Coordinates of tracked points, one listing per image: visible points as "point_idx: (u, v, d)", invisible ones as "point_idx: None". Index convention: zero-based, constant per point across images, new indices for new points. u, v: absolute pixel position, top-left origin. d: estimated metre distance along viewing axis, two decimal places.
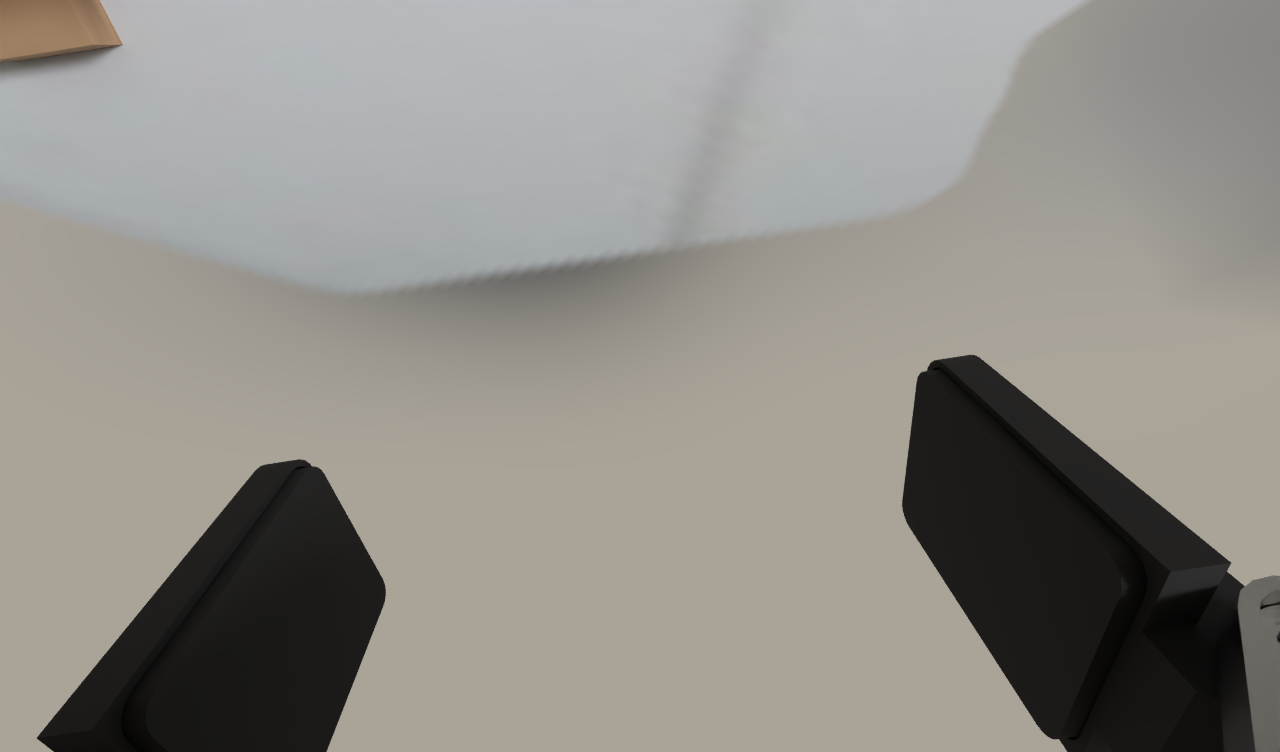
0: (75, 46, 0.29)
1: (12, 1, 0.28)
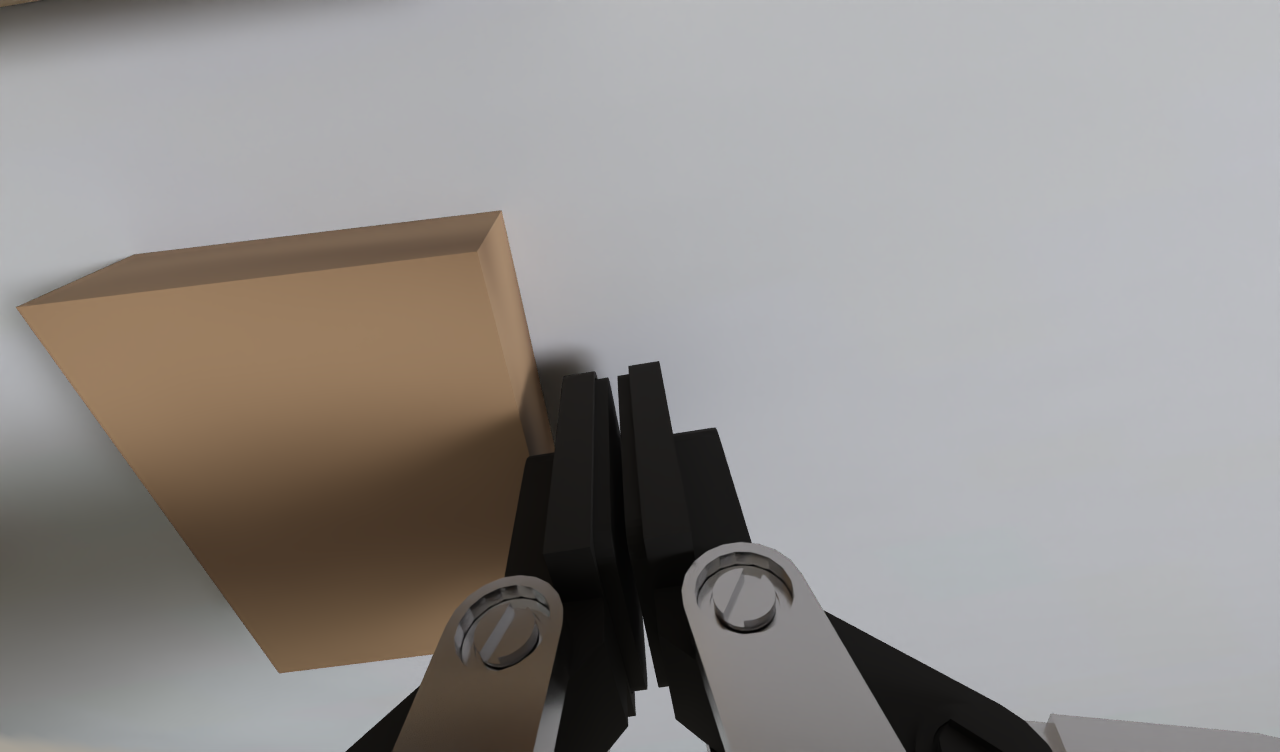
0: None
1: (406, 576, 0.10)
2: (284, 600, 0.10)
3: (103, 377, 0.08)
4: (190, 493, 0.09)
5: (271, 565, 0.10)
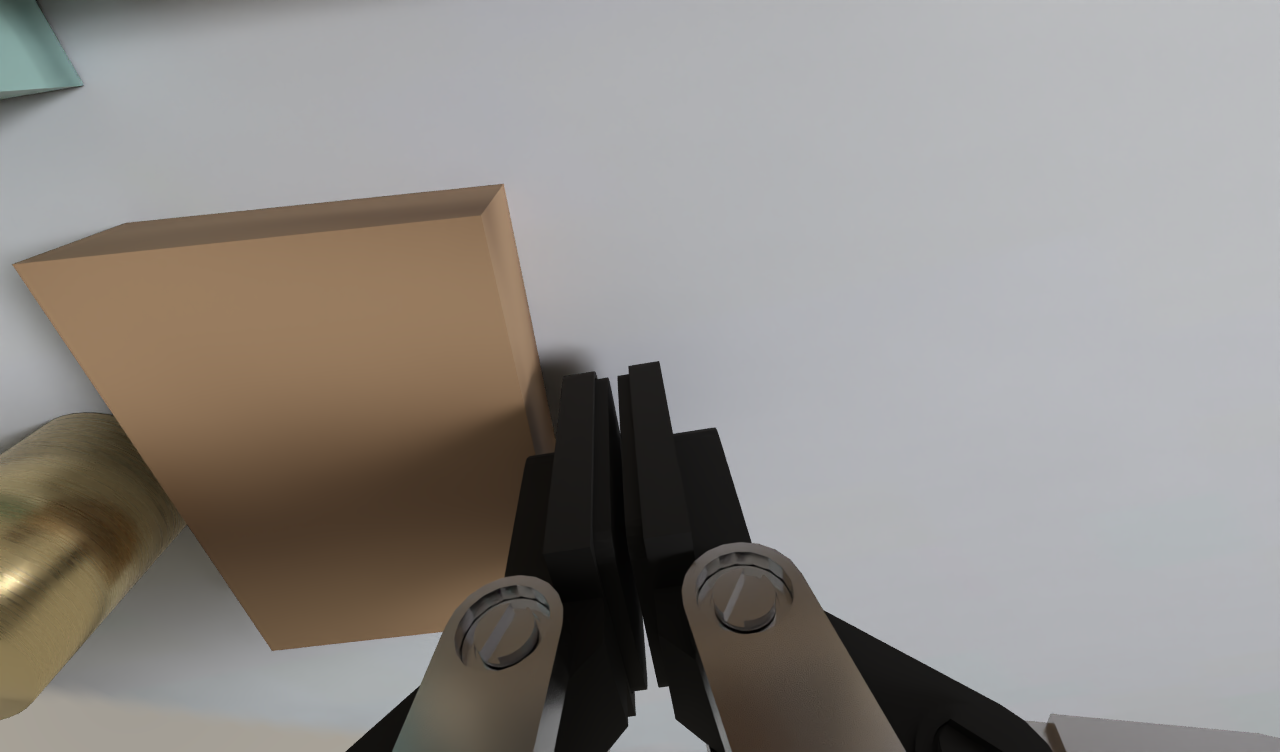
0: None
1: (403, 551, 0.10)
2: (278, 575, 0.10)
3: (99, 339, 0.08)
4: (185, 461, 0.09)
5: (266, 537, 0.10)
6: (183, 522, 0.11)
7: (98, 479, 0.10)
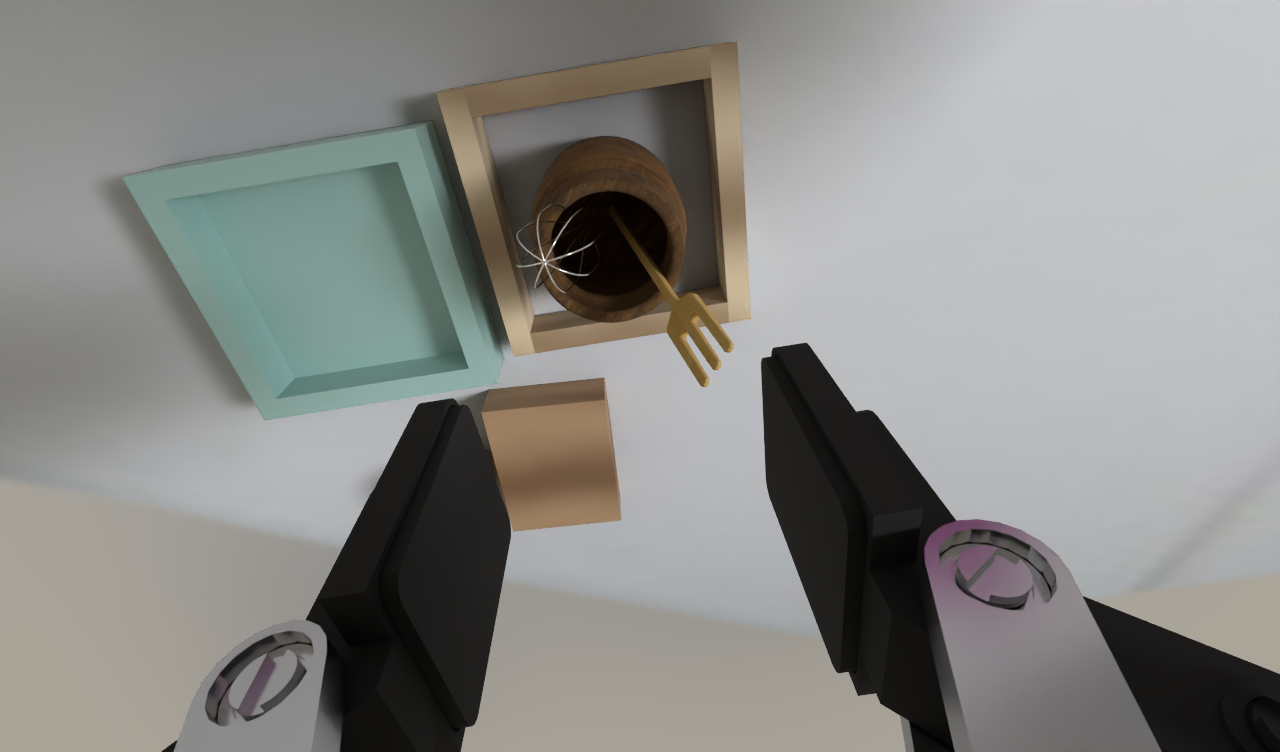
0: (604, 521, 0.31)
1: (566, 494, 0.30)
2: (524, 502, 0.30)
3: (495, 430, 0.28)
4: (507, 464, 0.29)
5: (523, 489, 0.30)
6: None
7: None
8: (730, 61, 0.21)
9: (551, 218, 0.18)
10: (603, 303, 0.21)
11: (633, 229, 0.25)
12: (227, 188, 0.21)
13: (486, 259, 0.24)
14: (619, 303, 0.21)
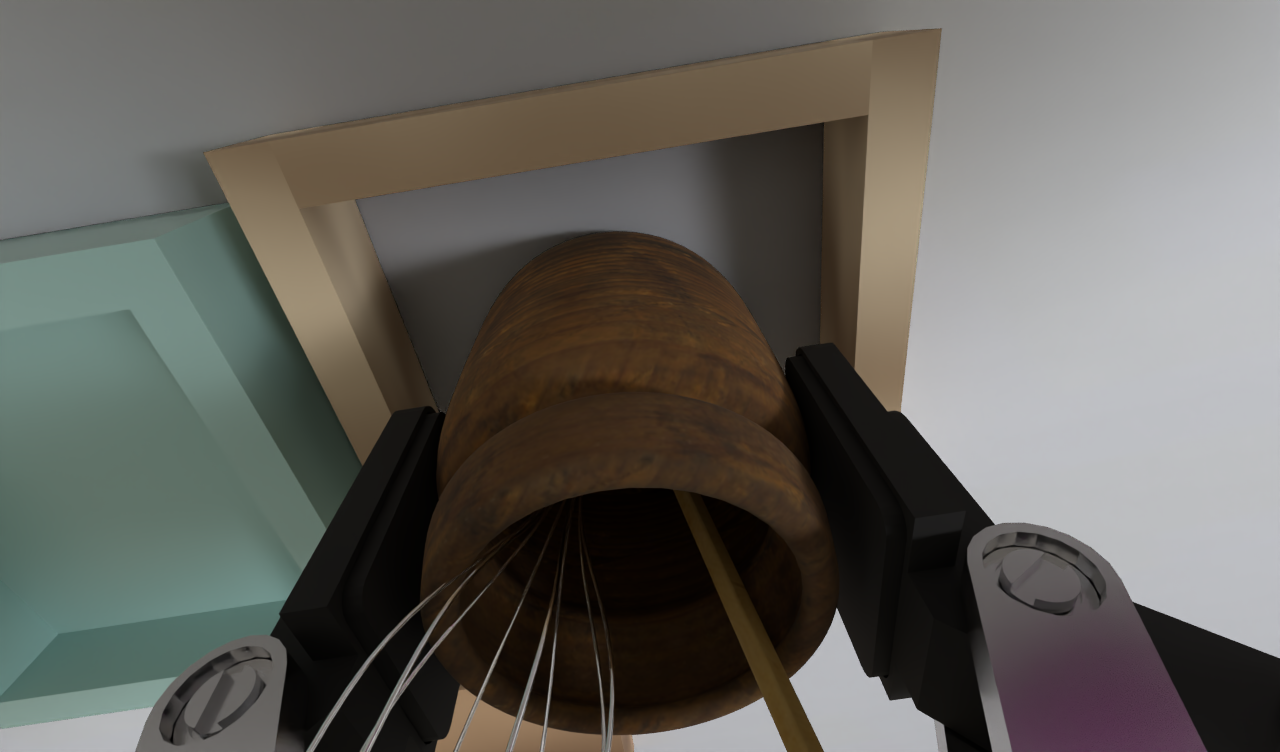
0: None
1: None
2: None
3: None
4: None
5: None
6: None
7: None
8: (919, 76, 0.08)
9: (459, 559, 0.06)
10: (612, 651, 0.09)
11: None
12: None
13: None
14: (650, 650, 0.09)
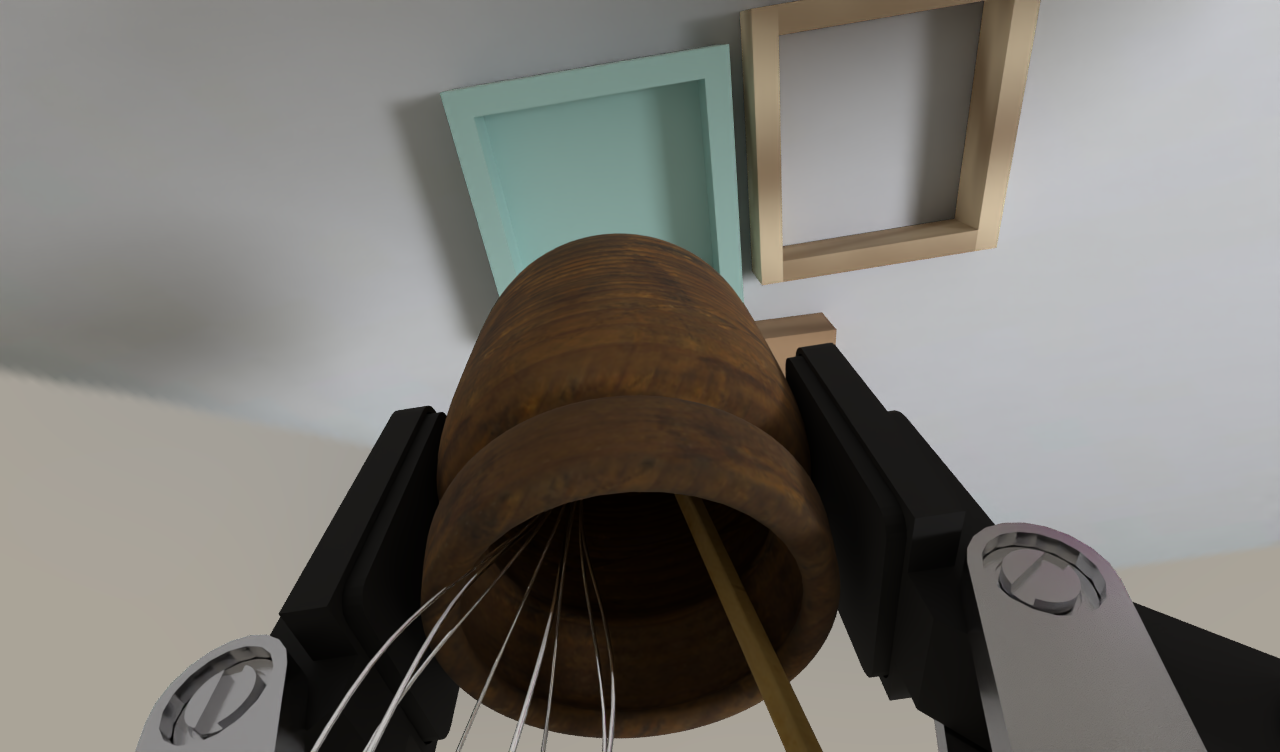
0: None
1: None
2: None
3: None
4: None
5: None
6: None
7: None
8: None
9: (460, 563, 0.06)
10: (613, 654, 0.09)
11: None
12: (537, 105, 0.22)
13: (759, 183, 0.24)
14: (651, 653, 0.09)
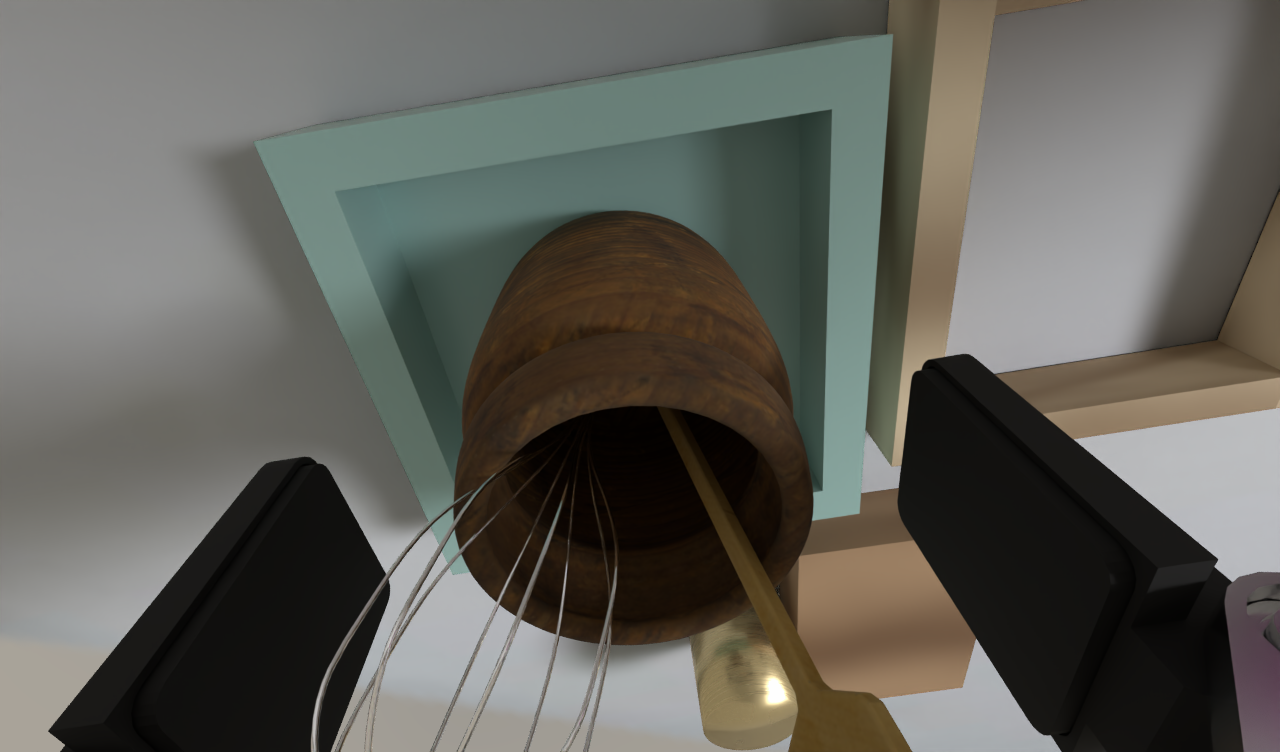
0: (936, 689, 0.20)
1: (892, 659, 0.19)
2: (825, 672, 0.19)
3: (814, 580, 0.17)
4: (816, 625, 0.18)
5: (830, 656, 0.19)
6: None
7: None
8: None
9: (487, 471, 0.07)
10: (619, 578, 0.10)
11: None
12: (470, 166, 0.10)
13: (910, 304, 0.13)
14: (653, 577, 0.10)
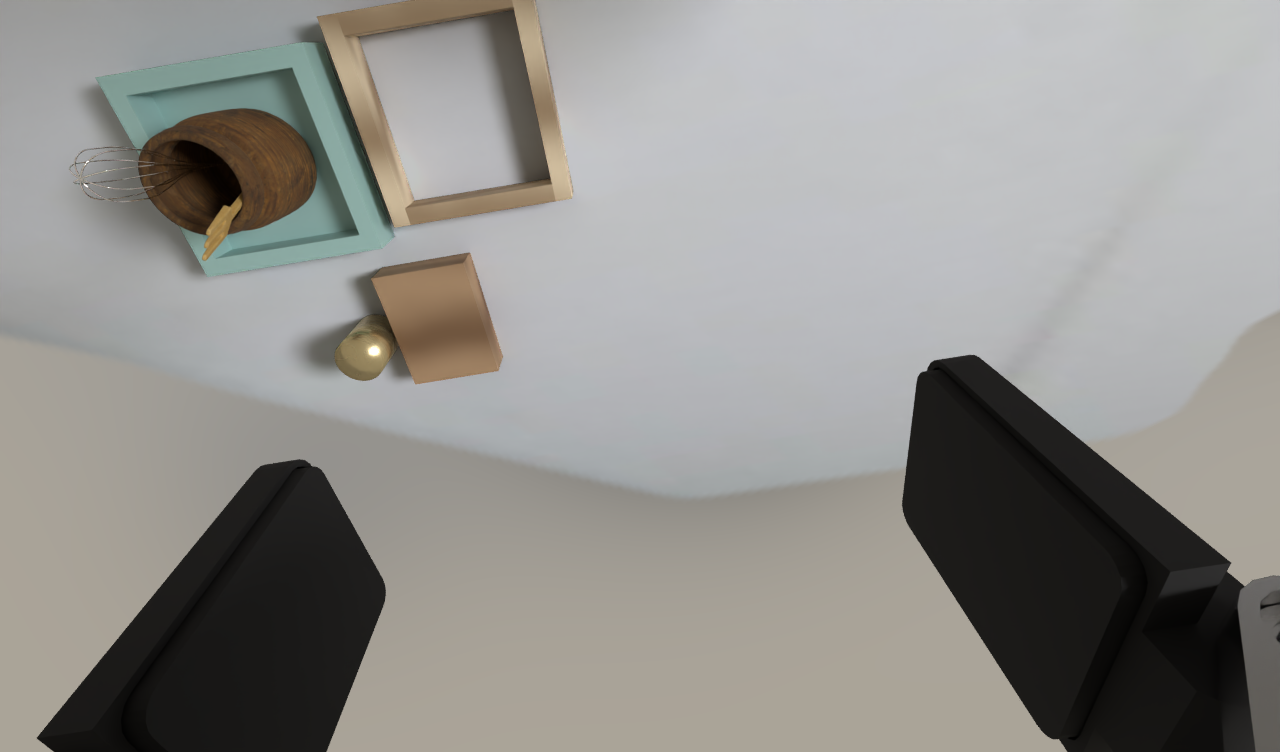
0: (485, 372, 0.40)
1: (450, 349, 0.39)
2: (418, 357, 0.39)
3: (385, 293, 0.37)
4: (399, 323, 0.38)
5: (416, 345, 0.39)
6: (398, 346, 0.40)
7: (385, 328, 0.38)
8: None
9: (143, 159, 0.27)
10: None
11: None
12: (171, 87, 0.30)
13: (365, 146, 0.32)
14: None
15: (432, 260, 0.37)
